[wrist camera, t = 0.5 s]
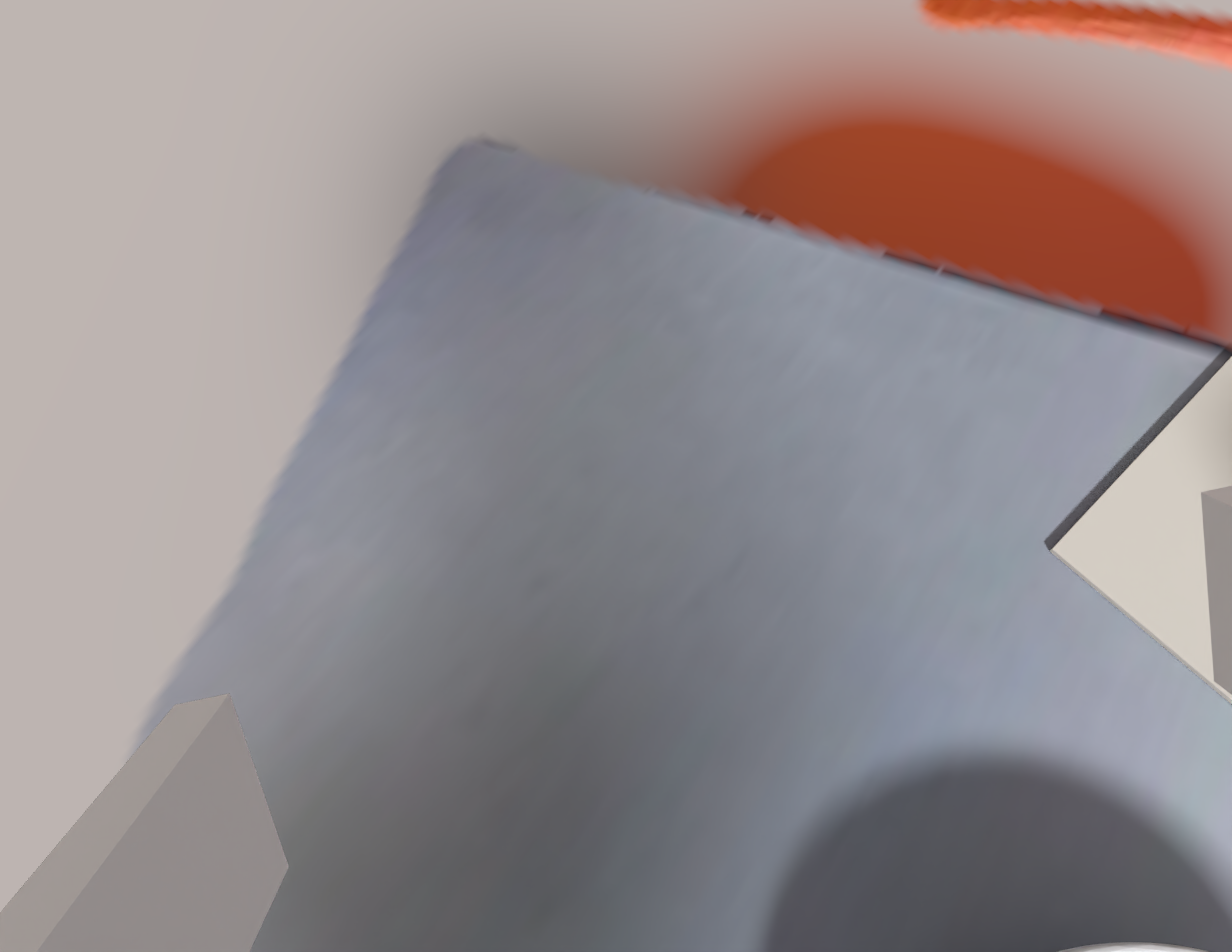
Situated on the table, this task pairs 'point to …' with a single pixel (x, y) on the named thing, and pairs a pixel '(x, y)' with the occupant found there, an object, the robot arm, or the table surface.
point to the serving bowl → (1133, 948)
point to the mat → (1162, 529)
